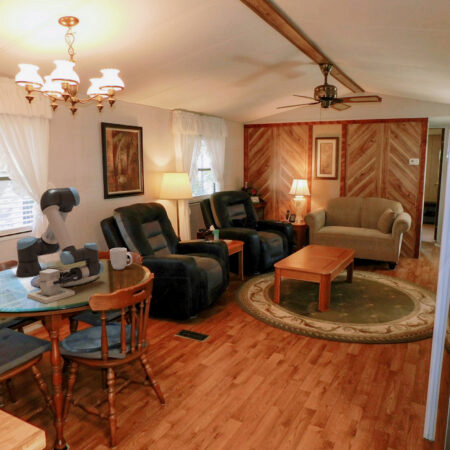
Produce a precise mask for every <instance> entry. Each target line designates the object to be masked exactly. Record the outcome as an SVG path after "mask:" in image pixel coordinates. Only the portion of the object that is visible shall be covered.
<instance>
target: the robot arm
mask: <svg viewBox="0 0 450 450" xmlns="http://www.w3.org/2000/svg"><path fill="white" fill-rule="evenodd" d="M80 197H81V196H80V194H79V191H78V189H76V188H75V187H69V186H68V187H59V188H58V187H57V188H49V189H47V190H45V191H44V192H43V193H42V195H41V196H40V200H39V207H40V210H41V213H42V214H43V215H44V216H45V217H46V220H47V221H48V225H47V227H46V230H45V231H44V232H43V233H42V234H41V236H40V237H36V236H26V237H23V238H20V239H18V240H17V241H16V250H17V252H16V253H17V261H18V264H17V267H16V271H15V275H16V276H17V278H30V277H31V278H32V277H37V276H40V274H39V272H41V271H43V268H42V266H41V264H40V262H39V257H42V256H47V255H53V254H56V253H58V252H60V251H61V253H60V254H59V260H60V262H61V264H62V265H66V266H68V265H73V264H78V263H81V262H85V264H83V265H79V266H78V265H77V266H75V267H71V268H70V270H69V271H65V272H64V271H59V272H60V278H59V280H58V279H55V280H51V281H47V282H46V284H47V287H49V286H53V285H57V284H60V285H61V284H62V285H65V284H68V283H71V282H76V281H79V280H85V279H87V278H92V277H94V276H98V275H100V274H102V273H103V272H104V269H105V266H104V264H103V262H101V261H100V260H99V245H98V243H96V242H87V243H84V245H83V247H81V248H76V246H75V243H74V241H73V239H72V237H71V234H70V233H69V231H68V228H67V226H66V224H65V222H66V220H67V217H68V214H70V213H72V211H73V209H74V207H78V206H79V205H80V204H81V203H80V202H81V198H80ZM36 285H40V277H39V278H36Z"/></svg>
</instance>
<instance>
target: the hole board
mask: <svg viewBox="0 0 450 450" xmlns="http://www.w3.org/2000/svg"><path fill="white" fill-rule="evenodd" d="M60 288H61V292H60V293H58V294H55V295H52V296H47V295H43V294H41V289H39V290H35V291H33V292H28V293H27V295H26V296H27V298H29V299H31V300H34V301H37V302H41V303H44V304H49V303H51V302H56V301H59V300H62V299H65V298H68V297H71V296H74V295H75V293H76V292H75V290H72V289H68V288H65V287H61V286H60Z"/></svg>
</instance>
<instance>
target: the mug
mask: <svg viewBox="0 0 450 450" xmlns="http://www.w3.org/2000/svg"><path fill="white" fill-rule="evenodd" d="M128 256H129V258H130V262H129V263H127V262H128ZM109 259H110V262H111V266H112V267H113V269H114V270H118V271H119V270H124V269H125V268H126V267H127V266H130V265H132V263H133V256H132V255H131V254H130V253H128V249H127V248H126V247H114V248H113V247H112V248H111V249H109Z"/></svg>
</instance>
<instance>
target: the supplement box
mask: <svg viewBox="0 0 450 450" xmlns="http://www.w3.org/2000/svg"><path fill="white" fill-rule="evenodd" d="M60 272H61V271H60V269H54V268H53V269H52V268H47V269H44V270H42V271H41V272H39V274H40V275H39V278H40V284H39V285H40V290H41V294H43V296H48V297H50V296H53V295H56V294H60V292H61V288H60V287H61V284H57V285H53V286H49V287H47V284H46V282H47V281H51V280H55V279H58V280H59V278H60Z"/></svg>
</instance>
